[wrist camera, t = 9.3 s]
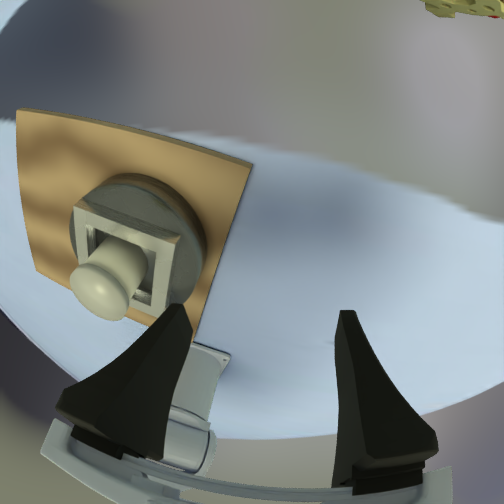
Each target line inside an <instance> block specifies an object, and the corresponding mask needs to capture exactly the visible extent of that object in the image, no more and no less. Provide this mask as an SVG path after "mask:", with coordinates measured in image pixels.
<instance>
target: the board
mask: <svg viewBox="0 0 504 504" xmlns="http://www.w3.org/2000/svg"><path fill="white" fill-rule="evenodd" d="M16 147H17V166H18V178H19V187H20V195H21V202H22V209H23V215H24V221H25V226H26V231H27V236H28V240H29V245H30V249H31V253H32V257H33V261H34V265H35V268H36V271H37V272H39V273H41V274H42V275H44V276H46V277H48V278H49V279H51V280H53V281H55V282H57V283H58V284H60V285H62V286H64V287H66V288H68V289H70V290H71V291H72V289H71V286H70V275H71V274H72V272H73V271H74V270H75V269H76V268H77V267H78V266H79V262H78V259H77V258H76V256H75V253H74V251H73V248H72V244H71V240H70V234H69V223H70V217H71V213H72V211H73V205H75V204H76V203H77V202H78V201H79V200H80V199H81V198H82V197H83V196H85V195H86V194H87V193H89V192H90V191H91V190H93V189H94V188H95V187H96V186H98V185H99V184H101V183H102V182H103V181H105V180H106V179H108V178H110V177H112V176H114V175H117V174H122V173H140V174H144V175H148V176H151V177H154V178H156V179H159V180H161V181H162V182H164V183H166V184H168V185H169V186H171V187H172V188H173V189H175V190H176V191H177V192H178V193H179V194H181V195H182V196H183V197H184V198H185V199H186V200H187V202H188V203H189V204H190V205H191V206H192V208H193V209H194V211H195V212H196V214H197V215H198V217H199V219H200V221H201V223H202V226H203V228H204V231H205V235H206V239H207V258H206V262H205V265H204V267H203V270H202V272H201V274H200V277H199V279H198V281H197V283H196V286H195V288H194V290H193V292H192V294H191V296H190V297H189V298H188V300H187V301H186V302H185V303H183V305H184V307H185V310H186V313H187V315H188V318H189V321H190V323H191V326H192V328H193V336H192V340H191V343H193V340H194V337H195V334H196V330H197V327H198V324H199V321H200V318H201V315H202V311H203V308H204V305H205V302H206V299H207V296H208V293H209V290H210V286H211V283H212V280H213V277H214V274H215V271H216V268H217V265H218V262H219V259H220V256H221V253H222V250H223V247H224V244H225V241H226V238H227V235H228V233H229V230H230V227H231V224H232V221H233V218H234V215H235V212H236V209H237V207H238V204H239V201H240V198H241V195H242V192H243V190H244V187H245V184H246V181H247V178H248V176H249V173H250V170H251V167H252V165H253V164H251V163H248V162H245V161H242V160H239V159H236V158H234V157H231V156H228V155H225V154H222V153H219V152H216V151H213V150H209V149H206V148H203V147H200V146H197V145H193V144H190V143H187V142H183V141H180V140H177V139H173V138H170V137H166V136H162V135H159V134H155V133H151V132H147V131H144V130H140V129H136V128H132V127H128V126H123V125H119V124H115V123H110V122H106V121H101V120H96V119H92V118H87V117H81V116H76V115H71V114H64V113H59V112H52V111H46V110H39V109H32V108H21V109H18V110H17V115H16ZM124 316H125V317H127V318H130V319H132V320H134V321H137V322H139V323H141V324H144V325H146V326H148V327H150V326H151V325H152V324H153V323H154V322H155V321H156V319H157V317H154V316H152V315H149V314H147V313H144V312H142V311H140V310H137V309H135V308H133V307H130V306H129V309H128V310H127V312H126V314H125V315H124Z"/></svg>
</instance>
